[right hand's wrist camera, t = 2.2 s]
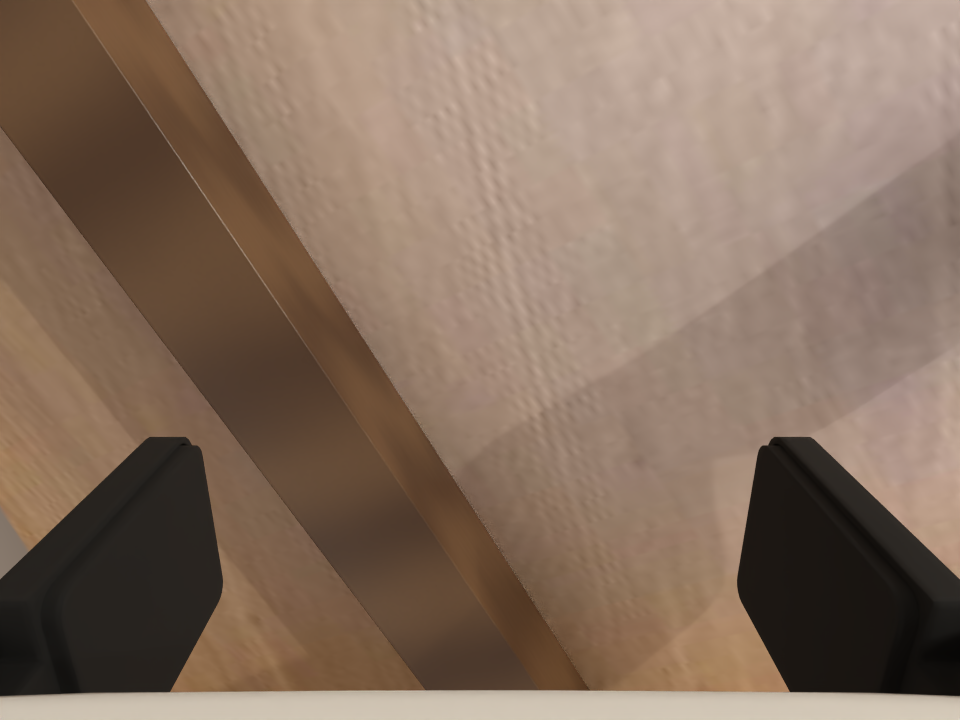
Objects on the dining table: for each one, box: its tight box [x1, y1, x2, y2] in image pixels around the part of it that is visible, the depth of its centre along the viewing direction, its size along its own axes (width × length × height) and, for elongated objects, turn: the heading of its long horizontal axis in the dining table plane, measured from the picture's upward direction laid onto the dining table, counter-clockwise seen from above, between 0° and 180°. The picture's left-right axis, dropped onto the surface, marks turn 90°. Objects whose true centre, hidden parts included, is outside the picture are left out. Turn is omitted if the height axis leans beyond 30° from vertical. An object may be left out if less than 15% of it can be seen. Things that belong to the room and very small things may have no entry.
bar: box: [0, 0, 589, 691], centre depth 28 cm, size 79×5×6 cm, turn 29°
